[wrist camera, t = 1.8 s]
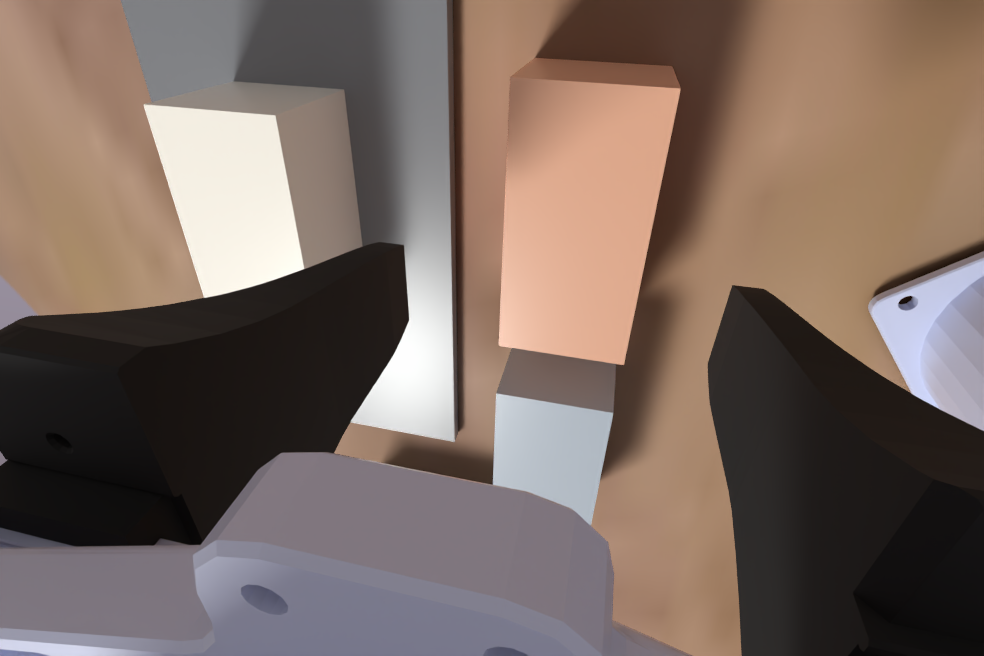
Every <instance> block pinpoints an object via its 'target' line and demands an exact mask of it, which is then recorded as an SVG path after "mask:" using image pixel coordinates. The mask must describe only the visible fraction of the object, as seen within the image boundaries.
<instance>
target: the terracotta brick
mask: <svg viewBox="0 0 984 656" xmlns="http://www.w3.org/2000/svg"><path fill="white" fill-rule="evenodd" d="M680 90H681V88H680V85H679V83H678V80H677V77H676V75H675V72H674V70H673V67H672V66H662V65H646V64H629V63H612V62H596V61H579V60H562V59H545V58H534V59H533V60H532V61H530V62H529V63H528V64H526V65H525V66H524V67H523V68H521V69H520V70H519V71H517V72H516V73H515V74H514V75H512V76H511V77H510V91H509V115H508V139H507V163H506V187H505V210H504V234H503V258H502V282H501V305H500V329H499V346H503V347H510V348H516V349H523V350H529V351H536V352H542V353H549V354H555V355H561V356H568V357H574V358H581V359H587V360H594V361H600V362H607V363H613V364H620V365H624V362H625V357H626V352H627V347H628V342H629V338H630V333H631V328H632V323H633V318H634V313H635V308H636V304H637V299H638V294H639V289H640V284H641V279H642V275H643V270H644V265H645V260H646V255H647V250H648V245H649V241H650V236H651V231H652V226H653V221H654V216H655V211H656V207H657V202H658V197H659V192H660V187H661V182H662V178H663V173H664V168H665V163H666V158H667V153H668V148H669V144H670V139H671V134H672V129H673V124H674V119H675V114H676V110H677V105H678V100H679V95H680Z"/></svg>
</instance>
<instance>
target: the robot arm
mask: <svg viewBox="0 0 984 656" xmlns="http://www.w3.org/2000/svg"><path fill="white" fill-rule="evenodd" d="M907 296H913V298H912V299H911V301H909V302H908V303H906V304H898V303H899V301H900V300H901V299H903V298H904V297H907ZM868 309H869V312H870V314H871V316H872V318H873V320H874V322H875V324H876V326H877V328H878V330H879V332H880V334H881V336H882V337H883V339H884V341H885V343H886V345H887V347H888V349H889V351H890V353H891V355H892V357H893V359H894V360H895V362H896V364H897V366H898V368H899V370H900V372H901V374H902V376H903V378H904V380H905V382H906V384H907V385H908V387H909V389H910V391H911V393H912V394H911V393H910V392H908V391H906V390H905V389H903V388H901V387H899V386H898V385H896V384H894V383H893V382H891V381H889V380H888V379H886V378H884V377H883V376H881V375H880V374H878V373H876V372H875V371H873V370H872V369H870V368H869V367H867V366H866V365H865V364H863V363H862V362H860V361H859V360H857V359H856V358H854V357H853V356H852V355H850V354H849V353H847V352H846V351H844V350H843V349H842V348H840V347H839V346H838V345H836V344H835V343H834V342H832V341H831V340H830V339H828V338H827V337H826V336H824V335H823V334H822V333H821V332H819V331H818V330H817V329H815V328H814V327H813V326H812V325H810V324H809V323H808V322H807V321H805V320H804V319H803V318H802V317H800V316H799V315H798V314H797V313H795V312H794V311H793V310H792V309H791V308H789V307H788V306H787V305H786V304H784V303H783V302H782V301H780V300H779V299H778V298H776V297H775V296H774V295H772V294H771V293H769V292H768V291H766V290H764V289H759V288H751V287H743V286H735V285H732V288H731V291H730V295H729V298H728V301H727V304H726V307H725V311H724V314H723V317H722V320H721V323H720V326H719V330H718V333H717V336H716V339H715V342H714V346H713V349H712V352H711V355H710V358H709V362H708V383H709V399H710V406H711V411H712V416H713V421H714V426H715V430H716V435H717V440H718V444H719V449H720V453H721V458H722V462H723V467H724V472H725V476H726V481H727V485H728V490H729V496H730V502H731V508H732V518H733V528H734V539H735V550H736V563H737V577H738V591H739V608H740V629H741V650H742V656H984V251H983V252H980V253H978V254H975V255H973V256H971V257H968V258H966V259H963V260H961V261H958V262H956V263H953V264H951V265H949V266H946V267H944V268H941V269H939V270H936V271H934V272H931V273H929V274H926V275H924V276H922V277H919V278H917V279H914V280H912V281H909V282H907V283H904V284H902V285H900V286H897V287H895V288H892V289H890V290H887V291H885V292H882V293H880V294H878V295H877V296H875V297H874V298H873V299H872V300H871V301H870V303H869V306H868ZM408 322H409V308H408V294H407V280H406V266H405V251H404V245H401V244H393V243H385V242H376V243H372V244H369V245H366V246H363V247H360V248H357V249H354V250H352V251H349V252H347V253H344V254H341V255H339V256H336V257H334V258H331V259H329V260H326V261H324V262H321V263H319V264H316V265H314V266H311V267H308V268H306V269H303V270H300V271H297V272H294V273H292V274H289V275H286V276H283V277H280V278H278V279H275V280H272V281H269V282H266V283H263V284H259V285H256V286H252V287H249V288H245V289H241V290H237V291H233V292H230V293H226V294H221V295H217V296H212V297H207V298H201V299H196V300H191V301H186V302H181V303H175V304H169V305H163V306H155V307H148V308H140V309H131V310H122V311H112V312H100V313H83V314H64V315H45V316H28V317H25V318H22V319H19V320H18V321H15V322H14V323H12V324H10V325H8V326H7V327H5V328H3V329H1V330H0V451H1V453H2V454H3V456H4V457H5V459H7V461H6V462H5V463H4V464H2V465H1V466H0V656H692V655H690V654H687V653H685V652H683V651H681V650H678V649H676V648H674V647H672V646H669V645H667V644H665V643H663V642H660V641H658V640H656V639H654V638H652V637H649V636H647V635H645V634H643V633H640V632H638V631H636V630H634V629H631V628H629V627H627V626H625V625H622V624H620V623H618V622H616V621H614V620H612V611H613V584H614V572H613V566H612V561H611V556H610V550H609V545H608V542H607V541H606V540H605V539H604V538H603V537H602V536H601V535H600V534H599V533H598V532H597V531H596V530H594V529H593V528H592V527H591V526H590V525H589V524H588V523H587V522H586V521H585V520H584V519H583V518H582V517H581V516H580V515H579V514H578V513H577V512H575V511H574V510H573V509H571V508H569V507H566V506H564V505H561V504H558V503H556V502H553V501H551V500H548V499H545V498H543V497H540V496H538V495H535V494H532V493H530V492H527V491H522V490H517V489H512V488H507V487H502V486H496V485H491V484H486V483H481V482H476V481H471V480H466V479H461V478H456V477H451V476H446V475H441V474H436V473H430V472H425V471H420V470H415V469H410V468H405V467H400V466H395V465H390V464H385V463H380V462H375V461H370V460H364V459H359V458H354V457H349V456H344V455H339V454H334V452H335V450H336V448H337V446H338V444H339V442H340V440H341V438H342V436H343V434H344V432H345V430H346V429H347V427H348V425H349V424H350V422H351V420H352V419H353V417H354V416H355V414H356V412H357V411H358V409H359V408H360V406H361V405H362V403H363V402H364V400H365V399H366V397H367V396H368V394H369V393H370V391H371V389H372V388H373V386H374V385H375V383H376V382H377V380H378V379H379V377H380V376H381V374H382V372H383V371H384V369H385V368H386V366H387V365H388V363H389V361H390V360H391V358H392V357H393V355H394V353H395V352H396V349H397V347H398V345H399V343H400V341H401V339H402V336H403V334H404V332H405V329H406V327H407V324H408Z"/></svg>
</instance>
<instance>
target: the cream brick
mask: <svg viewBox="0 0 984 656" xmlns="http://www.w3.org/2000/svg"><path fill="white" fill-rule="evenodd" d="M143 105H144V108H145V111H146V114H147V117H148V121H149V124H150V127H151V130H152V133H153V136H154V140H155V143H156V146H157V149H158V152H159V156H160V159H161V162H162V165H163V168H164V171H165V175H166V178H167V181H168V184H169V187H170V191H171V194H172V197H173V200H174V203H175V206H176V210H177V213H178V216H179V219H180V222H181V226H182V229H183V232H184V235H185V238H186V241H187V245H188V248H189V251H190V254H191V257H192V261H193V264H194V267H195V270H196V273H197V276H198V280H199V283H200V286H201V289H202V292H203V296H204V298H207V297H212V296H217V295H221V294H226V293H230V292H233V291H237V290H241V289H245V288H249V287H252V286H256V285H259V284H263V283H266V282H269V281H272V280H275V279H278V278H280V277H283V276H286V275H289V274H292V273H294V272H297V271H300V270H303V269H306V268H308V267H311V266H314V265H316V264H319V263H321V262H324V261H326V260H329V259H331V258H334V257H336V256H339V255H341V254H344V253H347V252H349V251H352V250H354V249H357V248H360V247H363V246H362V237H361V229H360V220H359V212H358V203H357V195H356V186H355V178H354V169H353V161H352V152H351V144H350V135H349V127H348V118H347V110H346V101H345V93H344V89H331V88H318V87H304V86H290V85H277V84H263V83H250V82H236V81H233V82H229V83H225V84H221V85H217V86H213V87H209V88H205V89H202V90H198V91H194V92H190V93H186V94H182V95H178V96H174V97H170V98H166V99H162V100H159V101H155V102H151V103H147V104H143Z"/></svg>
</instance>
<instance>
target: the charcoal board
mask: <svg viewBox="0 0 984 656" xmlns="http://www.w3.org/2000/svg"><path fill="white" fill-rule="evenodd" d="M121 3H122V6H123V9H124V12H125V16H126V19H127V22H128V25H129V29H130V32H131V35H132V39H133V42H134V45H135V48H136V52H137V55H138V58H139V61H140V65H141V68H142V71H143V75H144V78H145V81H146V84H147V88H148V91H149V94H150V97H151V101H152V102H155V101H159V100H162V99H166V98H170V97H174V96H178V95H182V94H186V93H190V92H194V91H198V90H202V89H205V88H209V87H213V86H217V85H221V84H225V83H229V82H233V81H236V82H250V83H263V84H277V85H290V86H304V87H318V88H331V89H344V93H345V101H346V110H347V118H348V127H349V135H350V144H351V152H352V161H353V169H354V178H355V186H356V195H357V203H358V212H359V220H360V229H361V237H362V246H366V245H369V244H372V243H376V242H385V243H393V244H401V245H404V251H405V266H406V280H407V294H408V308H409V322H408V324H407V327H406V329H405V332H404V334H403V336H402V339H401V341H400V343H399V345H398V347H397V349H396V352H395V353H394V355H393V357H392V358H391V360H390V361H389V363H388V365H387V366H386V368H385V369H384V371H383V372H382V374H381V376H380V377H379V379H378V380H377V382H376V383H375V385H374V386H373V388H372V389H371V391H370V393H369V394H368V396H367V397H366V399H365V400H364V402H363V403H362V405H361V406H360V408H359V409H358V411H357V412H356V414H355V416H354V417H353V419H352V420H351V422H352V423H357V424H362V425H367V426H373V427H378V428H383V429H389V430H394V431H399V432H405V433H410V434H415V435H420V436H426V437H431V438H436V439H442V440H447V441H452V442H455V440H456V437H457V434H458V386H457V306H456V225H455V145H454V65H453V0H121Z"/></svg>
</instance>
